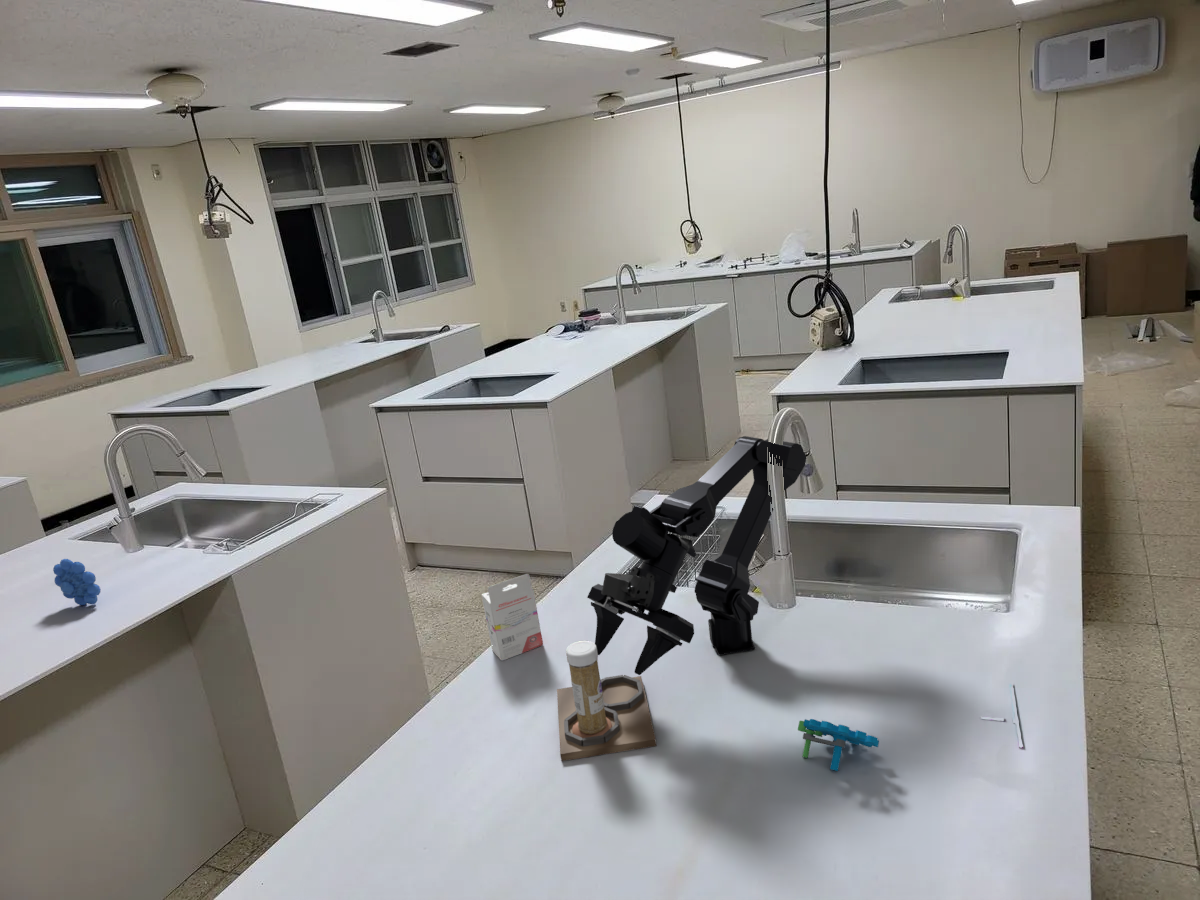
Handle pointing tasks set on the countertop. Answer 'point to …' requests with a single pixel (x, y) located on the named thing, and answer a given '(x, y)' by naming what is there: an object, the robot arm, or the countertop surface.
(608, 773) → the countertop surface
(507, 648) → the ink cartridge box
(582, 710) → the sprinkles bottle
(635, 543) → the robot arm
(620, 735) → the board
